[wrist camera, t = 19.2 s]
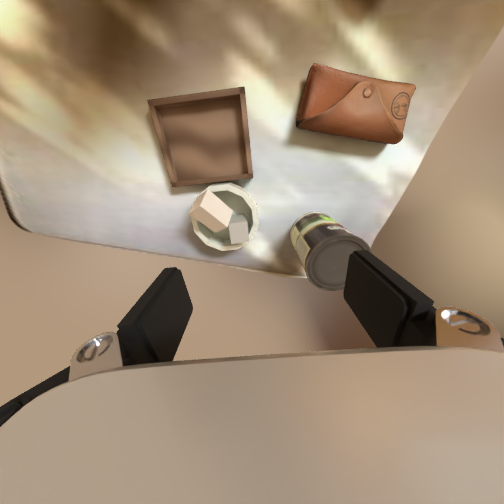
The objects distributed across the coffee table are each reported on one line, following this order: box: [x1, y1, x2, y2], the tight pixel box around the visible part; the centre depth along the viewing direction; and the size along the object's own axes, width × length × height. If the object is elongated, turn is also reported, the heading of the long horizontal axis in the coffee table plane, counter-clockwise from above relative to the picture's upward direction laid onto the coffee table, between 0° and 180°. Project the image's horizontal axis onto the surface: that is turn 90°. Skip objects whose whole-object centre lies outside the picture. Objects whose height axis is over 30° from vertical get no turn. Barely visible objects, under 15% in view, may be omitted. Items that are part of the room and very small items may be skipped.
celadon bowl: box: [190, 182, 259, 251], centre depth 37 cm, size 13×13×4 cm
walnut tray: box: [147, 87, 253, 187], centre depth 32 cm, size 13×16×2 cm
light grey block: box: [228, 214, 249, 244], centre depth 36 cm, size 4×4×6 cm
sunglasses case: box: [296, 63, 416, 144], centre depth 29 cm, size 18×7×7 cm
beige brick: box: [189, 189, 233, 233], centre depth 32 cm, size 4×4×6 cm
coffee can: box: [290, 212, 371, 291], centre depth 35 cm, size 10×10×14 cm
